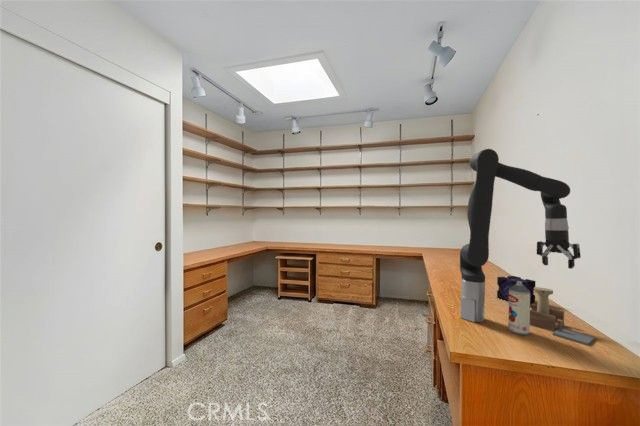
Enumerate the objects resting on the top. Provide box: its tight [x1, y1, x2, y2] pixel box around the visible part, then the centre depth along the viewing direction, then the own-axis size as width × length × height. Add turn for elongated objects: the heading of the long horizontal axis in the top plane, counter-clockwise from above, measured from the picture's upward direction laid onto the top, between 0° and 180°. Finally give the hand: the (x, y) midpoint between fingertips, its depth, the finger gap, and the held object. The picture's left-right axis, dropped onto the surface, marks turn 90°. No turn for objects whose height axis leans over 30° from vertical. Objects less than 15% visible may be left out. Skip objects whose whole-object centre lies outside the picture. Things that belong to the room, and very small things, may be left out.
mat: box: [552, 326, 596, 346], centre depth 103 cm, size 10×10×1 cm
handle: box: [534, 286, 554, 314], centre depth 115 cm, size 5×6×15 cm
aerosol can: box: [507, 281, 531, 336], centre depth 107 cm, size 7×7×20 cm
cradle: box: [530, 303, 565, 333], centre depth 115 cm, size 12×11×6 cm
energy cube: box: [496, 275, 536, 305], centre depth 146 cm, size 12×12×12 cm
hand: (558, 266), depth 115 cm, fingers open, 8 cm apart
